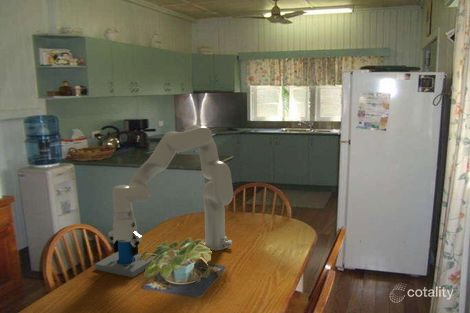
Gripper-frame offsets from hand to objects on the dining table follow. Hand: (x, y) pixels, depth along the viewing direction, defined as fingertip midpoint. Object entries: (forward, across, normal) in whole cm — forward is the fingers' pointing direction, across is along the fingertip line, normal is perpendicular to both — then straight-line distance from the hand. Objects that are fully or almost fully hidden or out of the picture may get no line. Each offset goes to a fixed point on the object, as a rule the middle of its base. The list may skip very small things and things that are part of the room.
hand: (126, 253), depth 180 cm
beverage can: (+6, 0, 0) cm, 6 cm away
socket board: (+6, 0, 0) cm, 6 cm away
